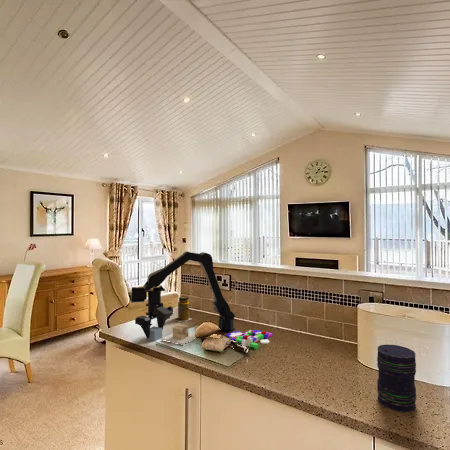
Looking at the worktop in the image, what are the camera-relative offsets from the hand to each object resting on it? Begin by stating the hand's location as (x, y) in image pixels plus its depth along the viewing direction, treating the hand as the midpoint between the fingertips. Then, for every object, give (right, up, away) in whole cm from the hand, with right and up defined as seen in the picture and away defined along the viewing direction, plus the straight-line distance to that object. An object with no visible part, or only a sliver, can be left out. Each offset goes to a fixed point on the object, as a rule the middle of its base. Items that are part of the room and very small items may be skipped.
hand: (154, 335), depth 145 cm
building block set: (+41, -2, -2) cm, 42 cm away
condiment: (+9, -2, +30) cm, 31 cm away
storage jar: (+81, -1, -53) cm, 97 cm away
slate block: (0, -1, 0) cm, 1 cm away
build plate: (+12, -1, -1) cm, 12 cm away
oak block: (+12, 0, -1) cm, 12 cm away
